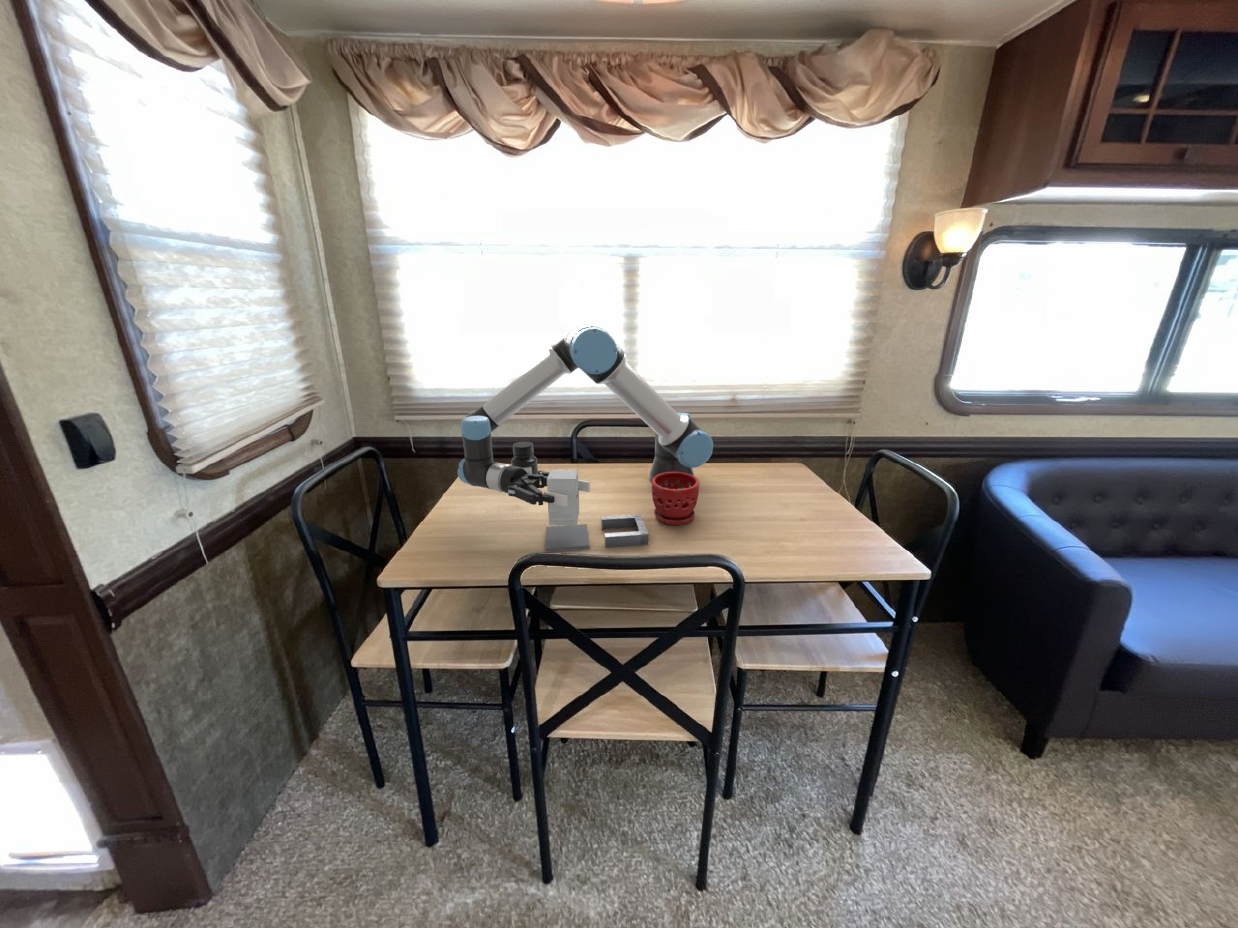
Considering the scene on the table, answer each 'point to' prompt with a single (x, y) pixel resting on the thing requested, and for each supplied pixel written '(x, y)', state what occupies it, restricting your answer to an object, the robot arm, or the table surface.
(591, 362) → the robot arm
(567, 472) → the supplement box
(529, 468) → the ink bottle
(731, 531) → the table surface
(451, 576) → the table surface
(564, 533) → the mat
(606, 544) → the grey piece
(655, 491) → the plant pot
